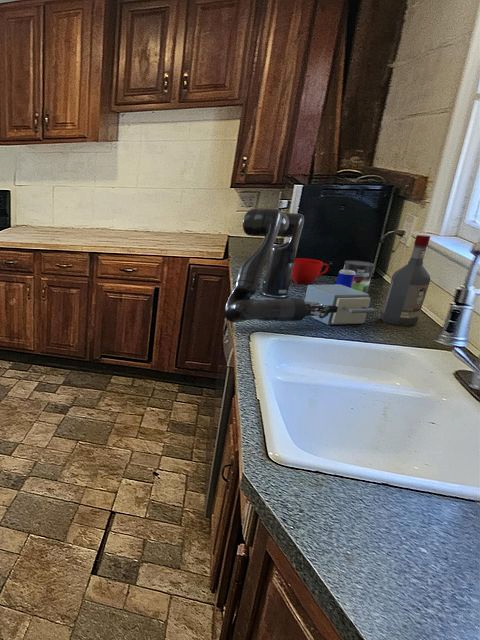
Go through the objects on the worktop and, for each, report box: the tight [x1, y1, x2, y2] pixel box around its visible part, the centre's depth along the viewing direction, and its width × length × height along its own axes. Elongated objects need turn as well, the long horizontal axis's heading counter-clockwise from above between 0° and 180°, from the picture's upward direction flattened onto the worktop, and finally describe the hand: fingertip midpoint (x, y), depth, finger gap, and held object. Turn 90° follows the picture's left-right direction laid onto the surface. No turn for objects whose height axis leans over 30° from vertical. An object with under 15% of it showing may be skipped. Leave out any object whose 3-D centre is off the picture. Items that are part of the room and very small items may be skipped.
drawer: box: [331, 296, 376, 325], centre depth 184 cm, size 18×11×9 cm, turn 5°
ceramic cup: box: [291, 257, 330, 285], centre depth 239 cm, size 13×17×10 cm
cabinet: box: [303, 283, 370, 326], centre depth 188 cm, size 15×13×11 cm
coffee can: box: [343, 260, 376, 294], centre depth 216 cm, size 10×10×14 cm
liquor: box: [380, 234, 431, 327], centre depth 181 cm, size 9×9×30 cm
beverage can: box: [335, 268, 355, 288], centre depth 197 cm, size 5×5×15 cm
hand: (335, 308), depth 177 cm, fingers closed
